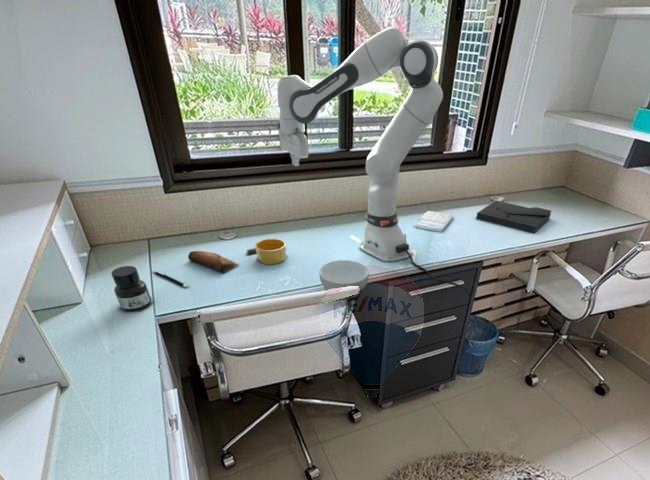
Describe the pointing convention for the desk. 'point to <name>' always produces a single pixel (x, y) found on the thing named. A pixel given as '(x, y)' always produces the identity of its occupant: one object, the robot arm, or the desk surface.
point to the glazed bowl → (271, 251)
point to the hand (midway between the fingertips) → (295, 165)
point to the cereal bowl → (344, 274)
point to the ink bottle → (130, 289)
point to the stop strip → (251, 251)
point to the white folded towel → (434, 221)
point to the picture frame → (514, 216)
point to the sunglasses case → (212, 260)
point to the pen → (170, 278)
